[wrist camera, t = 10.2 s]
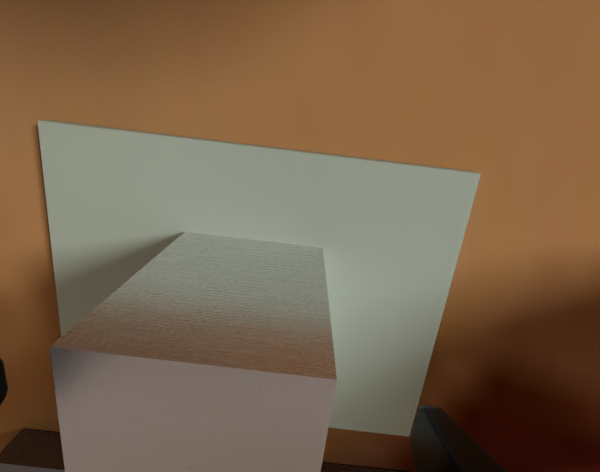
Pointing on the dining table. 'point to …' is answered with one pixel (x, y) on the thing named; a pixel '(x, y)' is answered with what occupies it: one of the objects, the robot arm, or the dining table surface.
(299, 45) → the dining table surface
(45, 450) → the grey flat frame
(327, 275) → the sage mat
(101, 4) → the dining table surface
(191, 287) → the steel peg
